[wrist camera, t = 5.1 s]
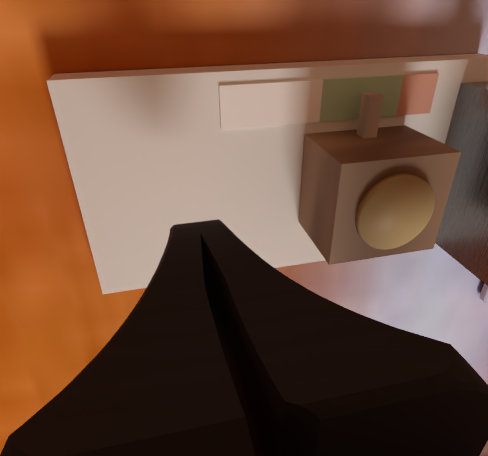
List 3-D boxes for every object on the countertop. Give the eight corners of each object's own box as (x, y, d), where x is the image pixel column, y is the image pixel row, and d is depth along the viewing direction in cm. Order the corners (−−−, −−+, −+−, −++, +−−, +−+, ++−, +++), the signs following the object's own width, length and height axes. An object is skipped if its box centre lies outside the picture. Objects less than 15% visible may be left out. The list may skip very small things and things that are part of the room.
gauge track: (478, 53, 15) (505, 57, 14) (429, 229, 19) (447, 242, 18) (54, 73, 12) (45, 81, 11) (105, 276, 16) (102, 295, 15)
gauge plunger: (413, 86, 14) (482, 108, 11) (387, 210, 16) (438, 253, 13) (307, 93, 13) (353, 118, 10) (298, 221, 15) (332, 269, 13)
